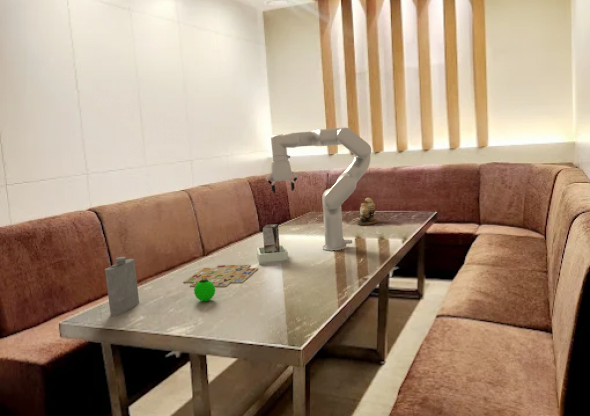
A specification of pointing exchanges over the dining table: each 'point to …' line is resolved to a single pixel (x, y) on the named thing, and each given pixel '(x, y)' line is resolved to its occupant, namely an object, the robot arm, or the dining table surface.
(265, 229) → the coffee box
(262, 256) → the bin
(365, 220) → the owl figurine
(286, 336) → the dining table surface
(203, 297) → the ornament
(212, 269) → the alphabet tiles
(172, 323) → the dining table surface
